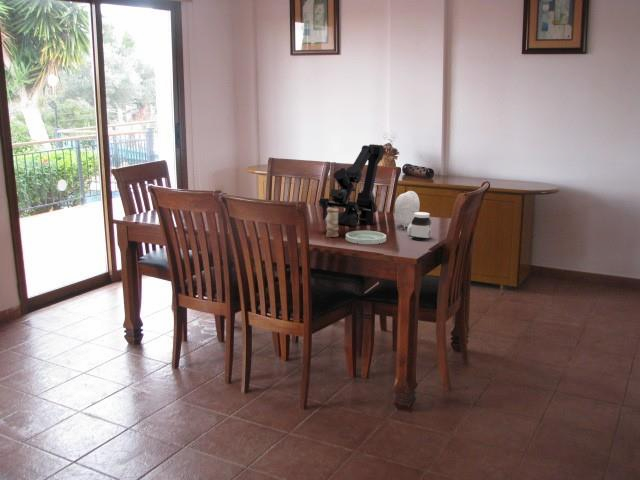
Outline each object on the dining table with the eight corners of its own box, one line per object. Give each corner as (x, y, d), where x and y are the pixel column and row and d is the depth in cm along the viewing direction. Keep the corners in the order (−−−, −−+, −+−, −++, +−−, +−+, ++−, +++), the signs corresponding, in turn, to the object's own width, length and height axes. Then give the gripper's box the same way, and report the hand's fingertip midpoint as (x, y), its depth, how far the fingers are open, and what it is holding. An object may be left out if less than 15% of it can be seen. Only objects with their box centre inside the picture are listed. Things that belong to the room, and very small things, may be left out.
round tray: (384, 235, 326) (384, 231, 326) (387, 244, 308) (387, 240, 308) (345, 234, 326) (345, 230, 326) (346, 243, 309) (346, 239, 308)
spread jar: (423, 242, 315) (425, 216, 312) (400, 238, 321) (402, 213, 318) (434, 237, 325) (436, 212, 322) (412, 233, 331) (413, 209, 328)
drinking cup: (336, 217, 355) (371, 219, 345) (330, 228, 351) (366, 230, 340) (331, 206, 350) (366, 208, 340) (325, 217, 346) (361, 219, 336)
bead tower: (338, 234, 325) (339, 207, 322) (338, 237, 320) (339, 209, 317) (326, 234, 325) (326, 206, 322) (326, 237, 320) (326, 209, 317)
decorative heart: (410, 231, 334) (412, 196, 330) (389, 229, 339) (390, 193, 335) (422, 224, 350) (424, 190, 346) (402, 222, 354) (403, 188, 350)
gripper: (321, 180, 325) (308, 207, 319) (357, 184, 316) (344, 212, 309) (329, 194, 334) (316, 221, 327) (364, 199, 325) (352, 226, 318)
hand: (332, 220), depth 320 cm, fingers open, 9 cm apart
